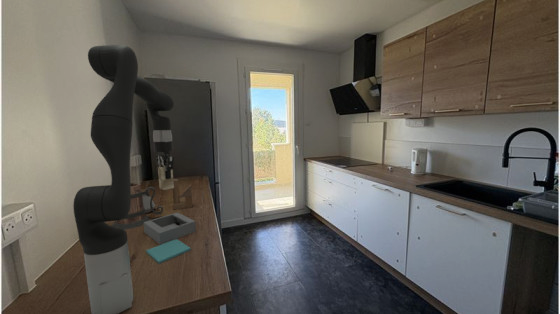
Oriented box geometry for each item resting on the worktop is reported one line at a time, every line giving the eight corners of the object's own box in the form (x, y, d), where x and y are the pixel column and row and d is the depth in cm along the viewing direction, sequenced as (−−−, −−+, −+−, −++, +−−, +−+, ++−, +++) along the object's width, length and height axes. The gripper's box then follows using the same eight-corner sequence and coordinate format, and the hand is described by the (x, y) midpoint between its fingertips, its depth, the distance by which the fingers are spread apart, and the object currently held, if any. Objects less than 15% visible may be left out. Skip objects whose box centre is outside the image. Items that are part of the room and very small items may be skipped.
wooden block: (192, 207, 140) (190, 178, 138) (173, 210, 136) (171, 180, 134) (192, 205, 143) (190, 177, 141) (173, 208, 139) (171, 179, 137)
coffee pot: (154, 213, 131) (151, 188, 129) (131, 216, 127) (128, 190, 125) (159, 202, 151) (158, 180, 149) (140, 204, 147) (137, 182, 145)
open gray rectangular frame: (195, 231, 106) (195, 221, 106) (160, 244, 94) (159, 233, 94) (178, 221, 118) (177, 212, 118) (144, 232, 106) (143, 222, 106)
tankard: (107, 232, 107) (103, 191, 104) (114, 220, 122) (110, 183, 119) (163, 222, 117) (160, 184, 115) (163, 212, 132) (160, 178, 130)
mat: (190, 249, 90) (190, 248, 90) (158, 263, 81) (158, 261, 81) (176, 240, 98) (176, 238, 98) (146, 252, 89) (146, 250, 89)
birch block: (173, 188, 104) (172, 166, 103) (163, 190, 101) (161, 167, 99) (169, 186, 107) (168, 165, 106) (159, 188, 104) (157, 166, 102)
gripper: (147, 140, 103) (151, 177, 105) (160, 141, 94) (164, 181, 96) (164, 140, 109) (167, 175, 111) (178, 140, 99) (181, 178, 101)
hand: (165, 177), depth 103 cm, fingers closed on birch block, 4 cm apart
